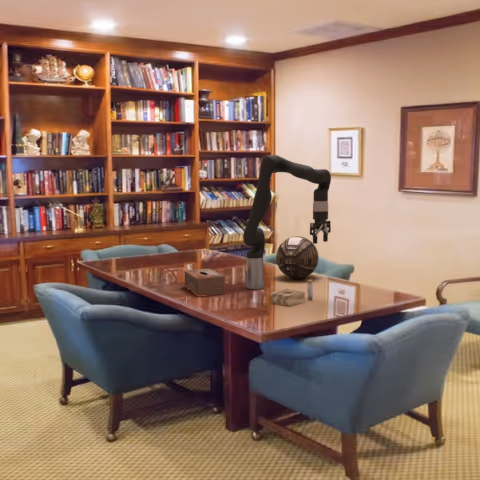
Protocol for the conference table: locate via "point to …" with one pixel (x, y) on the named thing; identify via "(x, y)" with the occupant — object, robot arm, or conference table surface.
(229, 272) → the conference table surface
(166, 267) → the conference table surface
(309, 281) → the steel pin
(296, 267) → the sphere
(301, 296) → the maple hitch block
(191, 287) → the tissue box cover
